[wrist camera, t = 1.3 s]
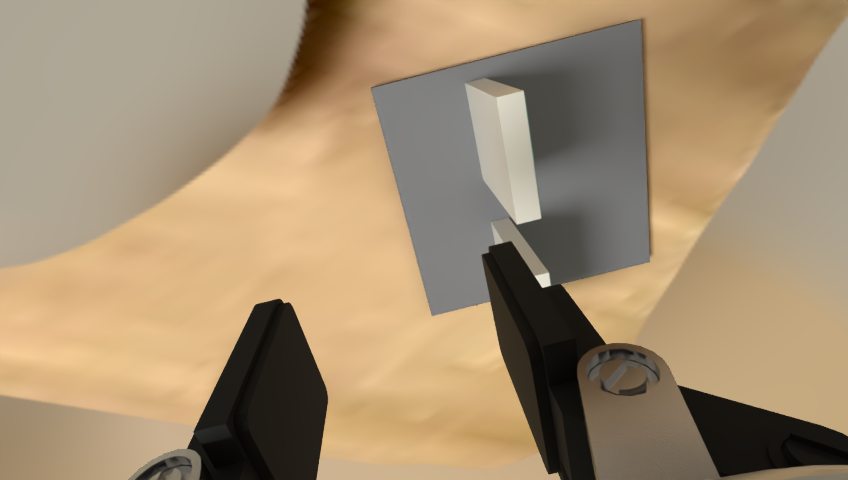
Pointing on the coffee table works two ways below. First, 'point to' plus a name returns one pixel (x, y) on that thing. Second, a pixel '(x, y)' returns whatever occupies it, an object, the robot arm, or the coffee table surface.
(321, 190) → the coffee table surface
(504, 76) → the mat
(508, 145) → the tile
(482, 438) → the coffee table surface
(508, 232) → the tile
